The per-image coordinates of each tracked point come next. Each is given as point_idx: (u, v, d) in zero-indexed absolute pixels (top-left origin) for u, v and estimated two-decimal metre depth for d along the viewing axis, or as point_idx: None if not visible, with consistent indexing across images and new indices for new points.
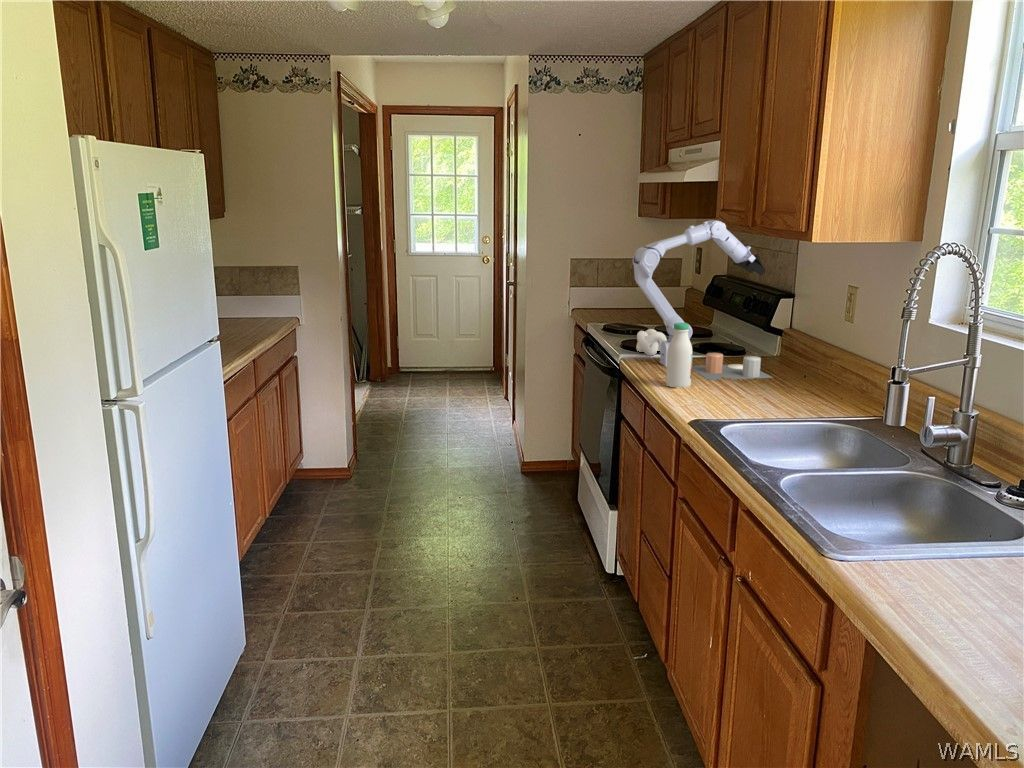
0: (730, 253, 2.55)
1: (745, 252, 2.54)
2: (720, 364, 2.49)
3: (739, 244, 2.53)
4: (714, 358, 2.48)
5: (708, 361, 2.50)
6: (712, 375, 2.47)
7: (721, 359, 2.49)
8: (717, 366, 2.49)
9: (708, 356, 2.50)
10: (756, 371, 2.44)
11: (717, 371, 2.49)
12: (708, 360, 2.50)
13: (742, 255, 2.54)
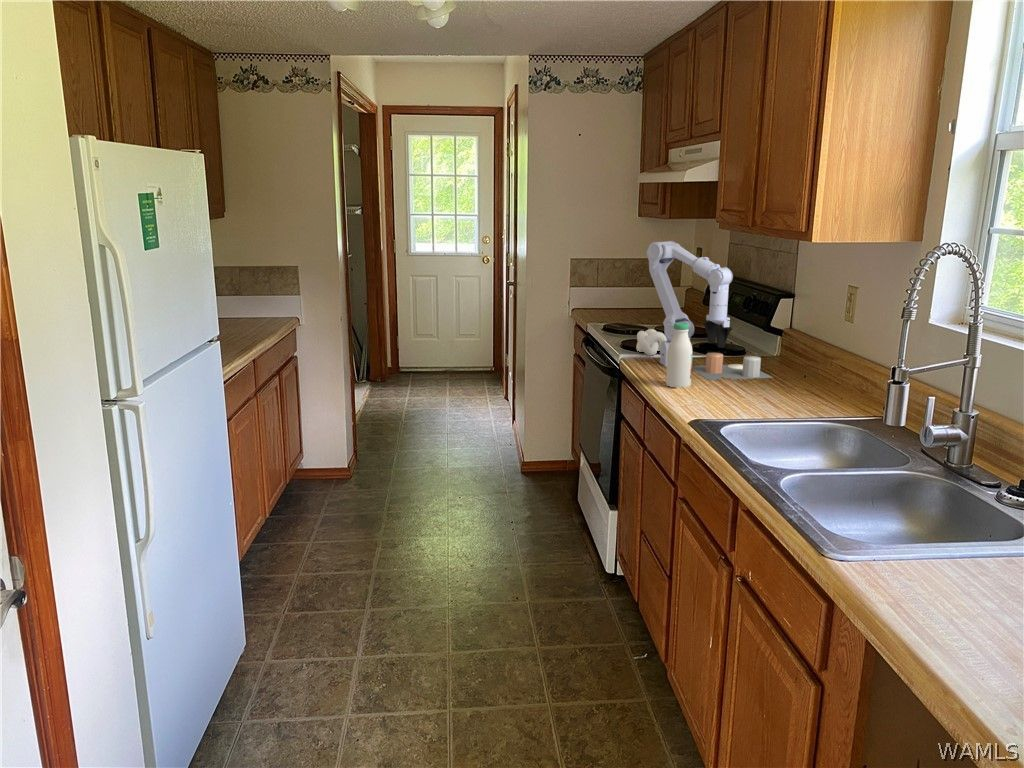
0: (713, 307, 2.45)
1: (724, 317, 2.45)
2: (720, 364, 2.49)
3: (726, 307, 2.45)
4: (714, 358, 2.48)
5: (708, 361, 2.50)
6: (712, 375, 2.47)
7: (721, 359, 2.49)
8: (717, 366, 2.49)
9: (708, 356, 2.50)
10: (756, 371, 2.44)
11: (717, 371, 2.49)
12: (708, 360, 2.50)
13: (720, 317, 2.45)
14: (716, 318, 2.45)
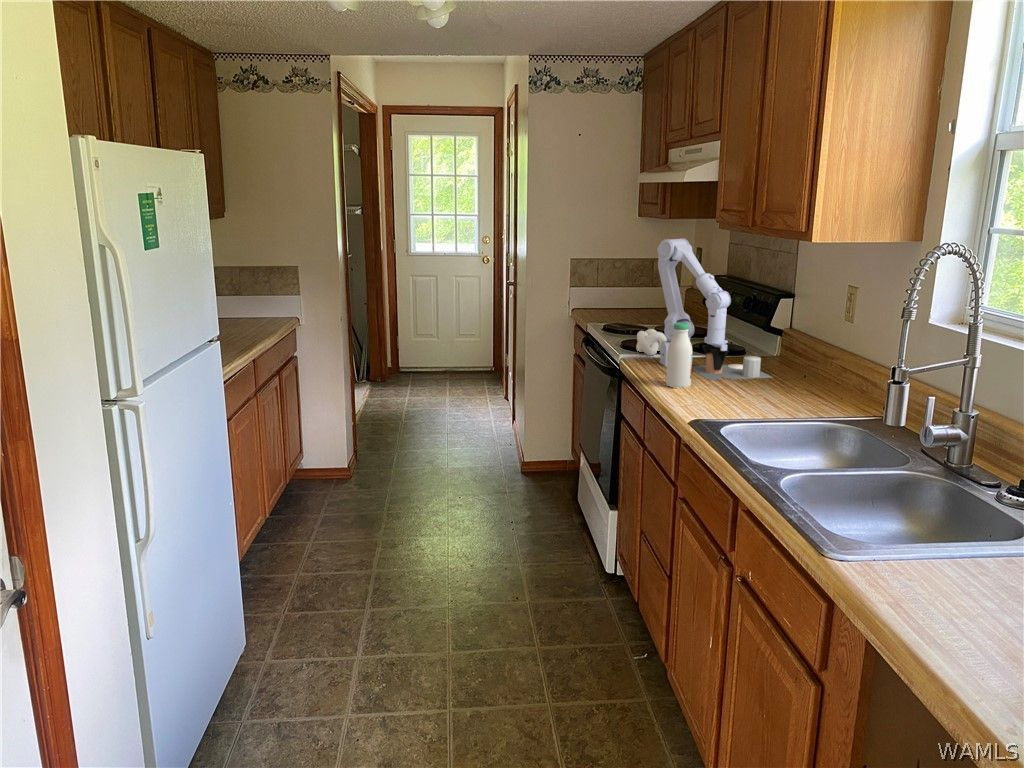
0: (711, 330, 2.47)
1: (721, 341, 2.47)
2: None
3: (723, 330, 2.47)
4: None
5: (708, 361, 2.50)
6: (712, 375, 2.47)
7: None
8: None
9: (708, 356, 2.50)
10: (756, 371, 2.44)
11: (717, 371, 2.49)
12: (708, 360, 2.50)
13: (717, 340, 2.47)
14: (714, 341, 2.47)
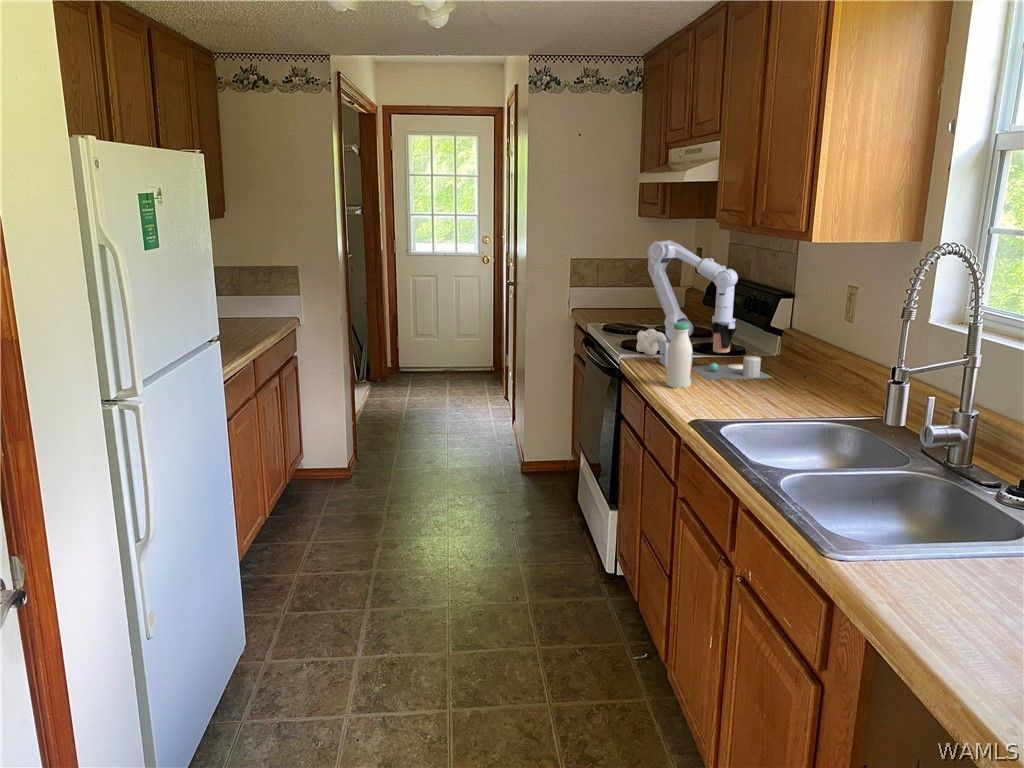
0: (718, 308, 2.47)
1: (729, 319, 2.47)
2: None
3: (731, 308, 2.46)
4: None
5: (715, 340, 2.50)
6: (712, 375, 2.47)
7: None
8: None
9: (715, 335, 2.49)
10: (756, 371, 2.44)
11: (724, 350, 2.49)
12: (715, 339, 2.50)
13: (725, 319, 2.46)
14: (722, 319, 2.47)
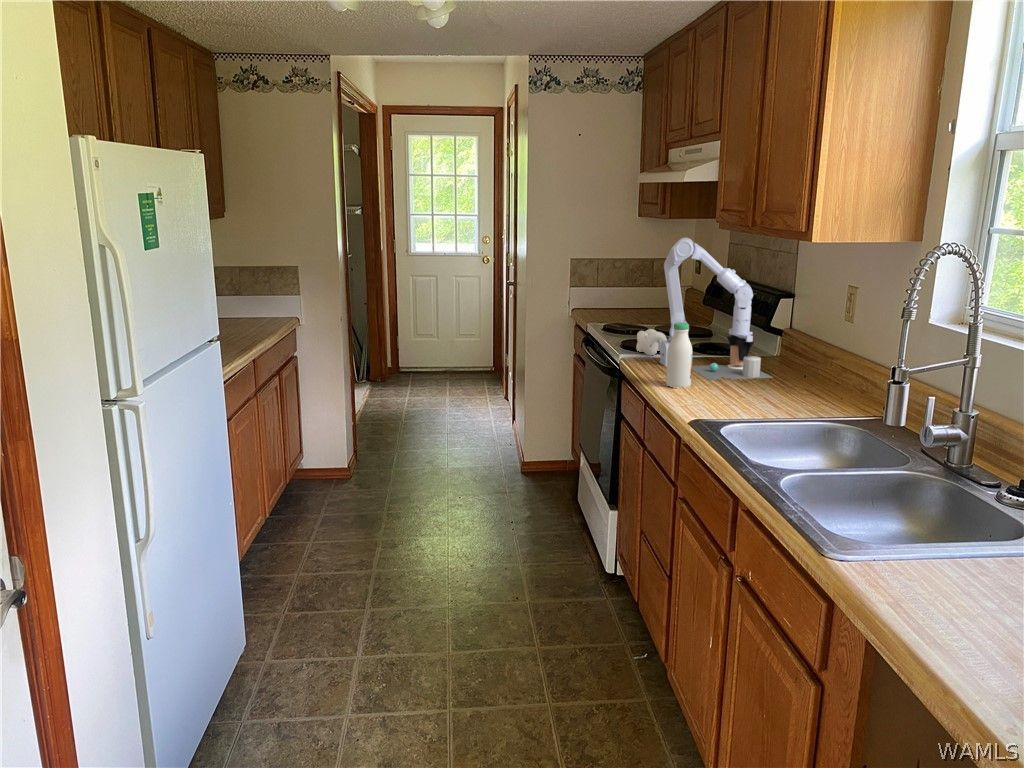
0: (736, 322, 2.53)
1: (747, 332, 2.53)
2: None
3: (749, 322, 2.52)
4: None
5: (733, 353, 2.56)
6: (712, 375, 2.47)
7: None
8: None
9: (732, 348, 2.55)
10: (756, 371, 2.44)
11: (742, 362, 2.55)
12: (732, 352, 2.56)
13: (743, 332, 2.52)
14: (739, 333, 2.53)
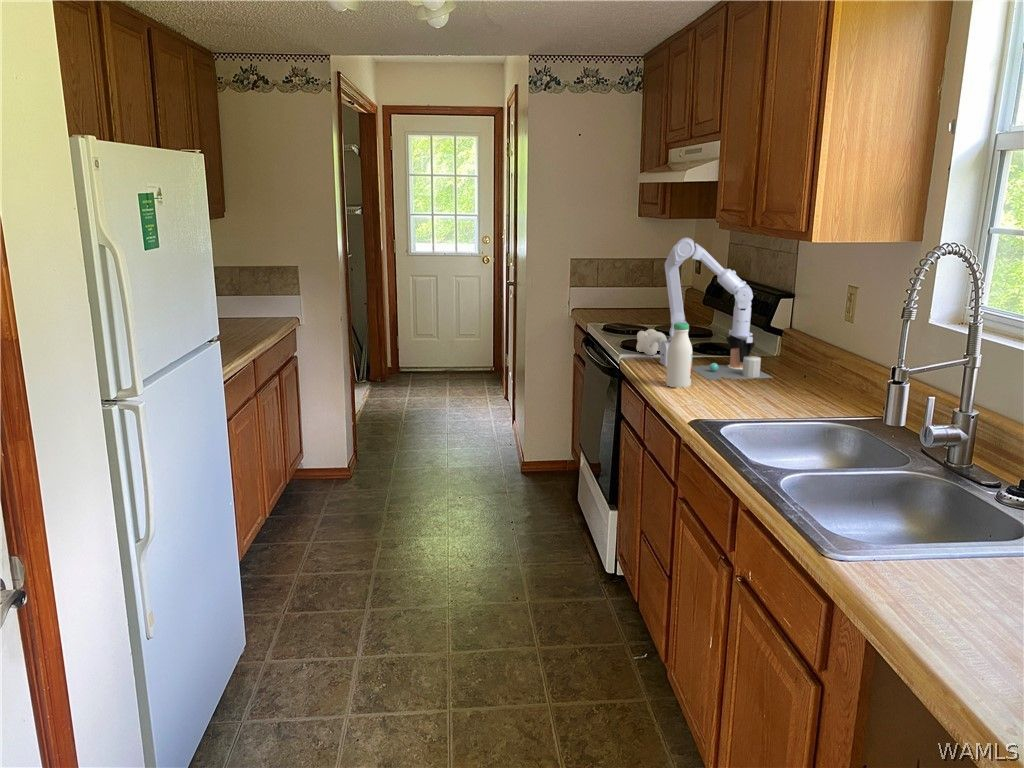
0: (736, 323, 2.53)
1: (746, 333, 2.53)
2: None
3: (748, 323, 2.52)
4: (739, 353, 2.55)
5: (733, 356, 2.56)
6: (712, 375, 2.47)
7: None
8: None
9: (733, 351, 2.56)
10: (756, 371, 2.44)
11: (741, 365, 2.56)
12: (733, 355, 2.56)
13: (743, 333, 2.53)
14: (739, 334, 2.53)
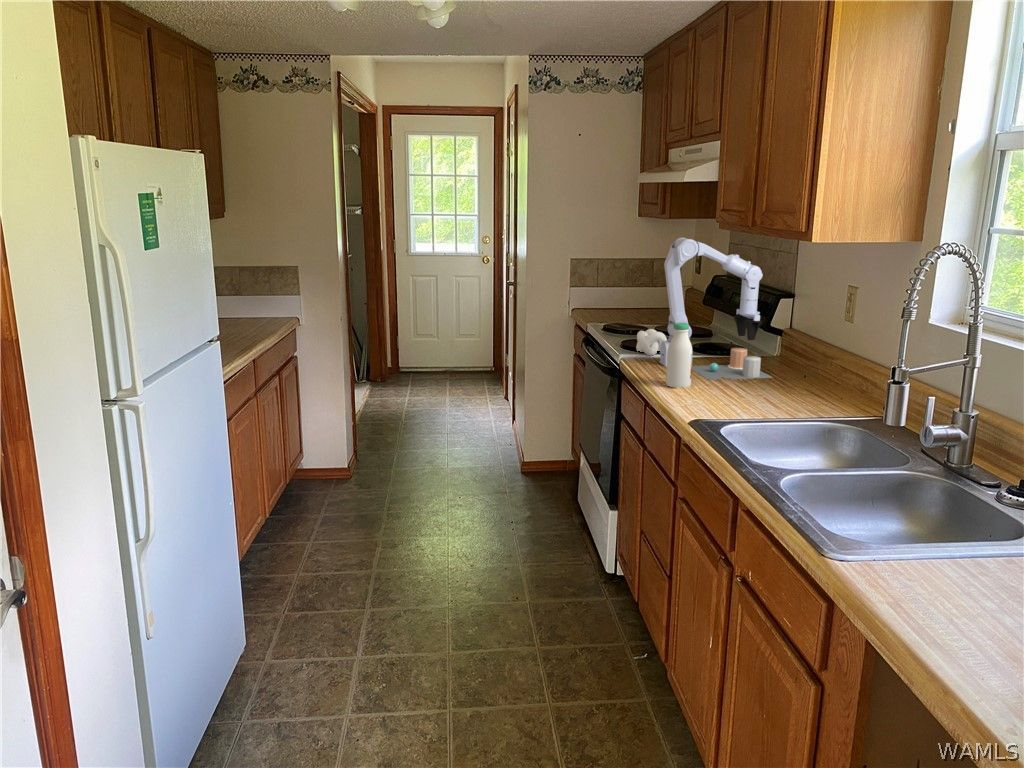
0: (744, 302, 2.58)
1: (754, 312, 2.58)
2: None
3: (756, 302, 2.57)
4: (739, 353, 2.55)
5: (733, 356, 2.56)
6: (712, 375, 2.47)
7: (745, 354, 2.55)
8: (741, 361, 2.55)
9: (733, 351, 2.56)
10: (756, 371, 2.44)
11: (741, 365, 2.56)
12: (733, 355, 2.56)
13: (750, 311, 2.57)
14: (747, 312, 2.58)
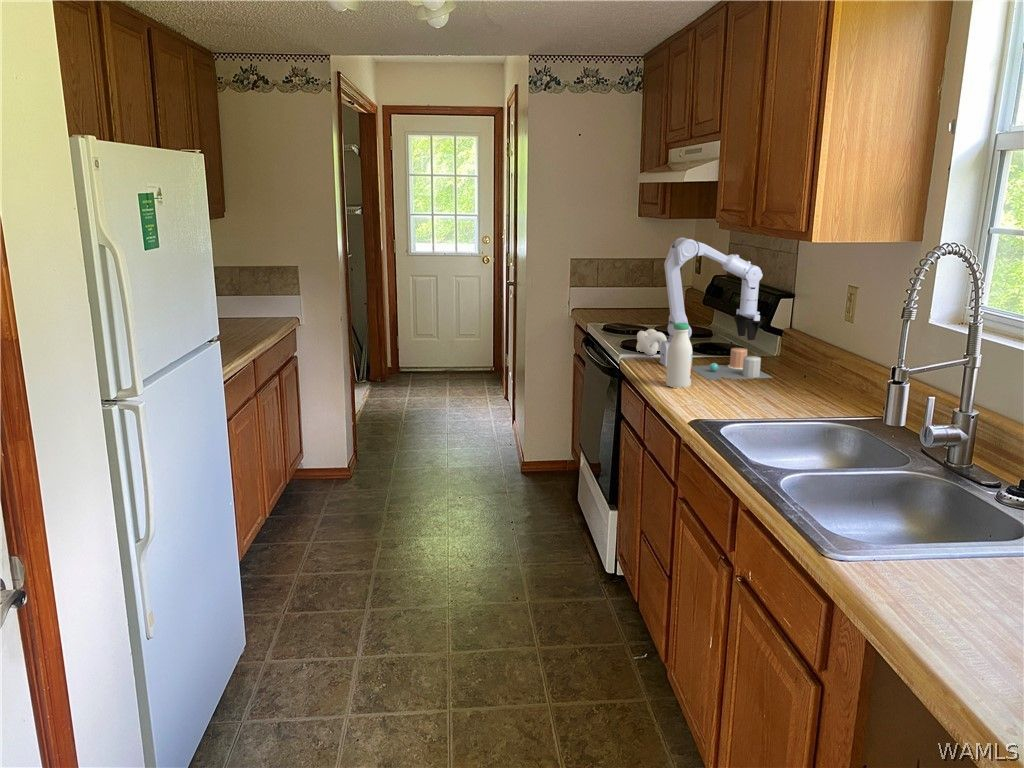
0: (744, 302, 2.58)
1: (754, 312, 2.58)
2: None
3: (756, 302, 2.57)
4: (739, 353, 2.55)
5: (733, 356, 2.56)
6: (712, 375, 2.47)
7: (745, 354, 2.55)
8: (741, 361, 2.55)
9: (733, 351, 2.56)
10: (756, 371, 2.44)
11: (741, 365, 2.56)
12: (733, 355, 2.56)
13: (750, 311, 2.57)
14: (747, 312, 2.58)
